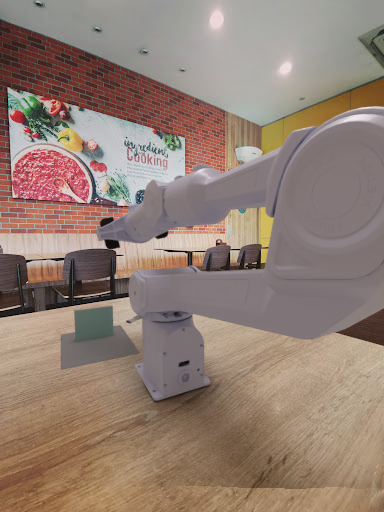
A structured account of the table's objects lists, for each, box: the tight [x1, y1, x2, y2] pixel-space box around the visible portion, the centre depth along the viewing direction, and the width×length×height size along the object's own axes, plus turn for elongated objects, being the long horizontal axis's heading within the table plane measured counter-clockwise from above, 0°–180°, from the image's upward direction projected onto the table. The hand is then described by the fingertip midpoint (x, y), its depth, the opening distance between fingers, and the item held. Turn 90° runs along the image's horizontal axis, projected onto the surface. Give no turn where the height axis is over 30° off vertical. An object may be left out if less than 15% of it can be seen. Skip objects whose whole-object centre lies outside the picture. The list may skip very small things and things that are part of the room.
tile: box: [73, 304, 114, 342], centre depth 51 cm, size 1×7×6 cm, turn 117°
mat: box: [60, 324, 141, 371], centre depth 48 cm, size 16×12×1 cm
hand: (126, 234), depth 54 cm, fingers open, 7 cm apart
